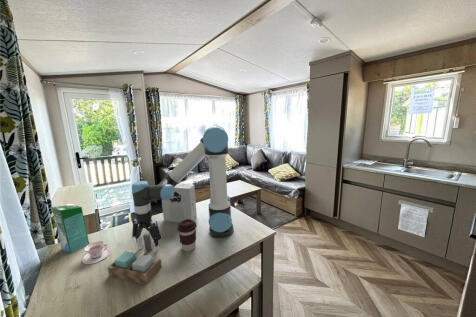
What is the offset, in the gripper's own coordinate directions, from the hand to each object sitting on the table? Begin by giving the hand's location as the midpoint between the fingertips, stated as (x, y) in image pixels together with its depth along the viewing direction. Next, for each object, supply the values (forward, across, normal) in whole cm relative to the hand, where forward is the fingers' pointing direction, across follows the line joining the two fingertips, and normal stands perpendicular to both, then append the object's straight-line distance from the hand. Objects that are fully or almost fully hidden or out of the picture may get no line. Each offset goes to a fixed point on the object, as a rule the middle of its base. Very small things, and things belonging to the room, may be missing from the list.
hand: (148, 249), depth 102 cm
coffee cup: (0, -20, -7) cm, 21 cm away
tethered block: (0, 0, +8) cm, 8 cm away
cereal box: (0, 0, -32) cm, 32 cm away
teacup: (+1, +23, +10) cm, 25 cm away
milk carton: (+1, +43, +7) cm, 43 cm away
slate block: (0, -10, +14) cm, 17 cm away
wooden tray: (0, -5, +14) cm, 14 cm away
